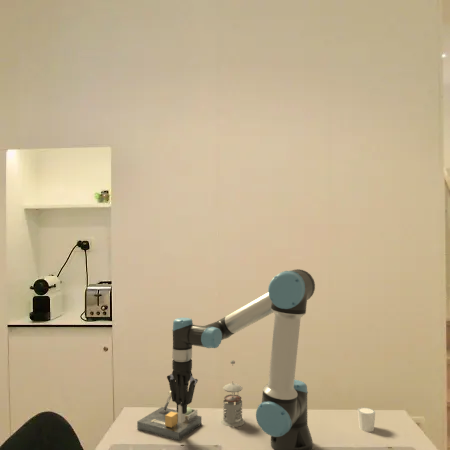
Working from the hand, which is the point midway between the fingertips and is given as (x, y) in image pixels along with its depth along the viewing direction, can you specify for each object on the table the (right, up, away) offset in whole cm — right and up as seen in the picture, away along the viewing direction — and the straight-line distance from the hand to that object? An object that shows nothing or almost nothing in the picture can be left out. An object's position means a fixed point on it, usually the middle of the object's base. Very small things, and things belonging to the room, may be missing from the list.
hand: (181, 421), depth 154 cm
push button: (+1, -3, +9) cm, 10 cm away
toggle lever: (-9, -3, +14) cm, 17 cm away
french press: (+20, -6, +13) cm, 25 cm away
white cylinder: (+73, -6, +7) cm, 74 cm away
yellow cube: (-4, -2, +2) cm, 5 cm away
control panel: (-6, -6, +8) cm, 11 cm away
